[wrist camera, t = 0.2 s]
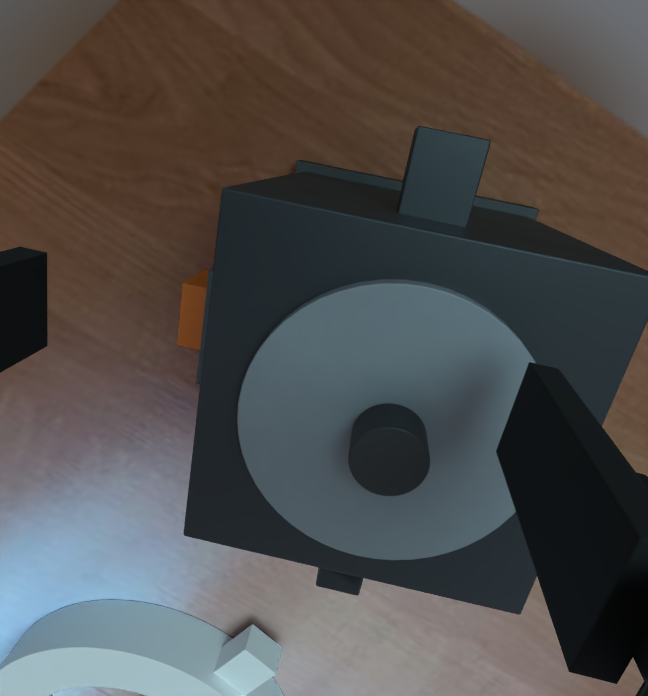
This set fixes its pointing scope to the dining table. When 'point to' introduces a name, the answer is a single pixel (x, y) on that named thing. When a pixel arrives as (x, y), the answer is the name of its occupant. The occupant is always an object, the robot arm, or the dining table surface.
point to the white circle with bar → (138, 654)
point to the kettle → (391, 369)
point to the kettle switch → (192, 311)
